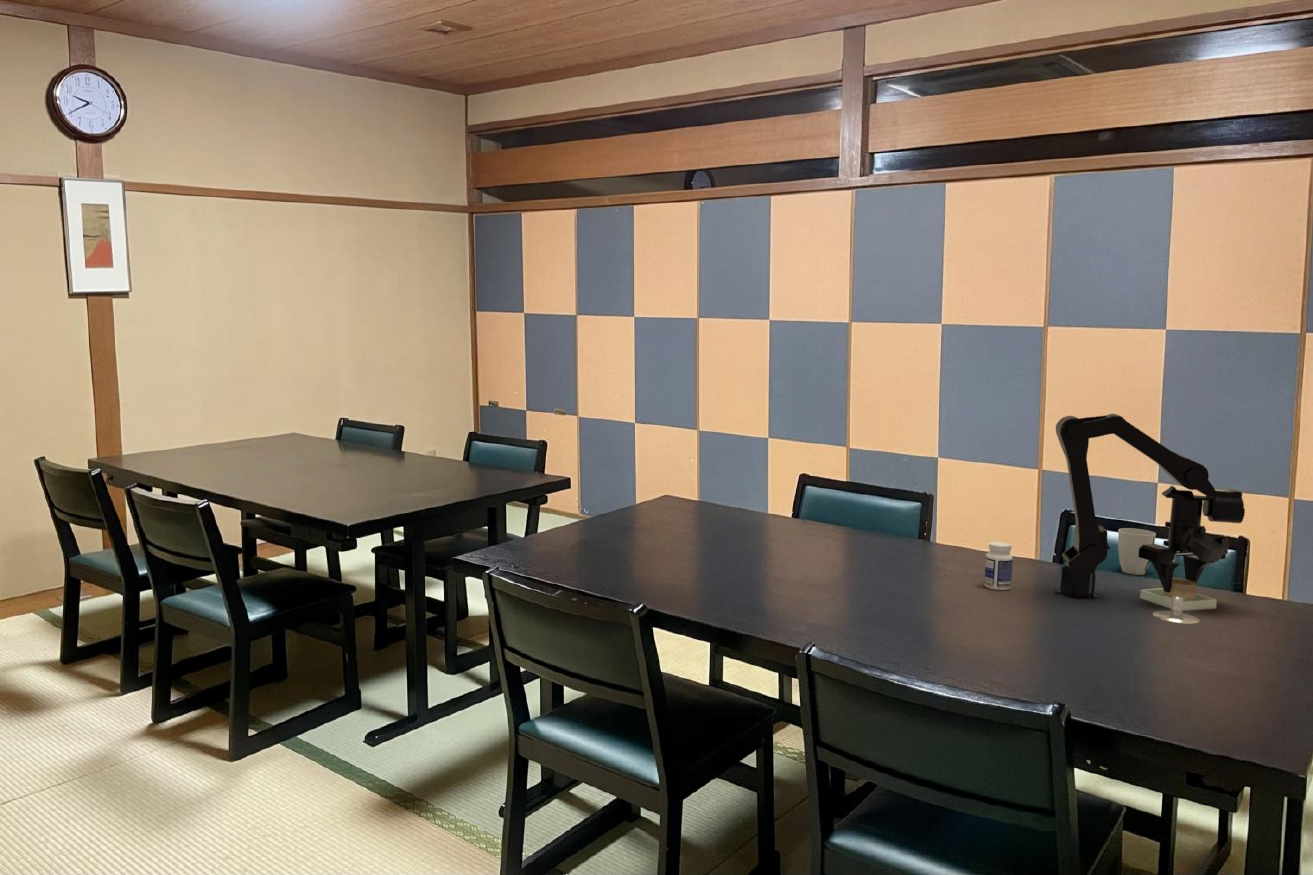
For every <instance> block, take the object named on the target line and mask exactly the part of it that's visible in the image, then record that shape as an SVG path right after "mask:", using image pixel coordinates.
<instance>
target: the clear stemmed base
mask: <svg viewBox="0 0 1313 875" xmlns="http://www.w3.org/2000/svg"><path fill="white" fill-rule="evenodd" d="M1182 608H1183V597H1181V596H1172V606H1171V609H1170V610H1158V611H1153V613H1152V615H1153V616H1154V617H1155V618H1158V619H1159V620H1162V621H1167V622H1170V623H1178V624H1189V625H1190V624H1191V625H1192V624H1197V623H1199V622H1200V619H1199V618H1198V617H1196V616H1194V615H1191V614H1187V613H1184V612H1183V611H1182Z"/></svg>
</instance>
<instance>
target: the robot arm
mask: <svg viewBox="0 0 1313 875" xmlns="http://www.w3.org/2000/svg"><path fill="white" fill-rule="evenodd" d="M1055 433H1056V436H1057V438H1058V442H1059V446H1060V447H1061V450H1062V452H1063V454H1064V457H1065V460H1066V465H1067V470H1068V479H1069V485H1070V490H1071V498H1072V505H1073V512H1074V520H1075V523H1074V531H1073V545H1072V546H1071V547H1069V548H1068V549H1066V550H1064V551H1063V552H1062V554H1061V555H1062V559H1063V562H1064V564H1066V565H1064V566H1062V567H1061V578H1060V586H1059V587H1060V589H1055V590H1054V593H1056V594H1058V595H1063V596H1065V597H1068V598H1071V599H1074V600H1085V599H1086V600H1087V599H1095V598H1099V595H1097V594H1094V593H1095V587H1096V577H1097V576H1096V569H1097V567H1098V565H1100V564H1102V563H1103V562H1105V560H1106V559H1107V556H1108V550H1111V547H1110V545H1109V543H1108V531H1107V530H1106V528H1105V527H1104V526H1102V525H1098V523H1097V520H1096V513H1095V512H1096V511H1095V507H1094V499H1093V498H1094V497H1093V493H1092V487H1091V481H1090V474H1089V473H1090V472H1089V467H1088V460H1087V458H1088V452H1089V443H1090V442H1089V440H1090V439H1092V438H1093V439H1094V438H1099V437H1103V436H1107V435H1112V434H1113V435H1114V436H1116V437H1118V438H1119V439H1120V440H1122V441H1124V442H1125V443H1126V444H1128V445H1129V446H1131V447H1133V448H1135V450H1137V451H1138V452H1140V453H1142V454H1143V455H1144V456H1146V457H1148V458H1149V459H1150V460H1152V461H1154V462H1155V463H1156V464H1157V465H1158V466H1159V467H1160V468H1161V469H1162V471H1164V472H1165V474H1167V475H1168V476H1169V477H1170V478H1171V479H1172V480H1173V481H1174V482H1175V483H1176V484H1178V485H1180V486H1182V487H1183V488H1185V489H1187V490H1185V489H1177V488H1176V487H1175V486H1173V485H1170V486H1169V487H1168V488H1167V489H1166V490H1164V491H1162V492H1161V496H1163V497H1165V498H1167V499H1172V501H1171V508H1170V511H1171V512H1170V519H1169V521H1164V522H1165V524H1164V527H1165V528H1169V530H1168V539H1167V540H1163V544H1162V545H1160V544H1156V543H1154V544H1145V545H1142V546H1141V547H1139V554H1138V557H1140V558H1143V559H1147V560H1148V561H1150V563H1151V564H1152V566H1153V568H1154V569H1155V572H1156V574H1157V577H1158V579H1159V581H1160V584H1161V586H1162V588H1163V589H1164V591H1165V592H1168V593H1169V592H1170V590H1171V586H1172V579H1173V577H1174V572H1175V569H1177V568H1178V567H1179V566H1180V565H1181V564H1180V563H1178V562H1176V557H1183V567H1184V576H1185V578H1184V579H1187V580H1190V581H1194V582H1196V584H1197V583H1198V580H1199V578H1200V577H1201V575H1202V573H1203V571H1204V570H1205V569H1206V567H1208V566H1210V565H1213V564H1215V563H1216V562H1219V561H1220V560H1225V559H1226V558H1227V557H1226V555H1227V554H1228V553H1229V549H1230V546H1229V545H1230V542H1229V541H1230V539H1228V538H1227V537H1225V536H1222V535H1221V536H1216V537H1214V536H1209V535H1207V534H1206V533H1207V529H1206V526H1205V525H1201V523H1202V515H1203V516H1204V517H1207V520H1208V521H1209V522H1216V523H1227V524H1230V523H1231V524H1241V523H1243V520H1244V518H1245V513H1246V512H1245V511H1246V508H1245V504H1244V500H1243V492H1242V491H1240V490H1234V489H1233V490H1231V489H1230V490H1223V489H1222V490H1217V489H1216V488H1215V487H1214V485H1212V483H1211V481H1210V480H1209V477H1210V475H1209V471H1208V469H1207V468H1206V467H1205V466H1204V465H1203V464H1201V463H1199V462H1197V461H1195V460H1192V459H1191V458H1187V457H1186V456H1183V455H1181V454H1179V453H1177V452H1174V451H1172V450H1170V449H1169V448H1167V447H1166V446H1165V445H1163V444H1162V443H1160V442H1158V441H1157V440H1155V439H1154V438H1152V437H1151V436H1149V435H1148V434H1147V433H1145V432H1144V431H1142V430H1141V429H1139V428H1138V427H1136V426H1134V425H1133V424H1131V423H1130V422H1129V421H1127V420H1126V419H1125V418H1124V417H1123V416H1121V415H1120V414H1117V413H1109V414H1106V415H1099V416H1098V415H1097V416H1090V417H1089V416H1088V417H1082V418H1081V417H1080V418H1078V417H1077V416H1074V415H1066V416H1063V417H1062V418H1060V419H1059V420H1058V421H1057V423H1056V425H1055ZM1193 491H1197V492H1199V493H1200V494H1202V495H1198V494H1197V495H1196V494H1194V492H1193Z"/></svg>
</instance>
